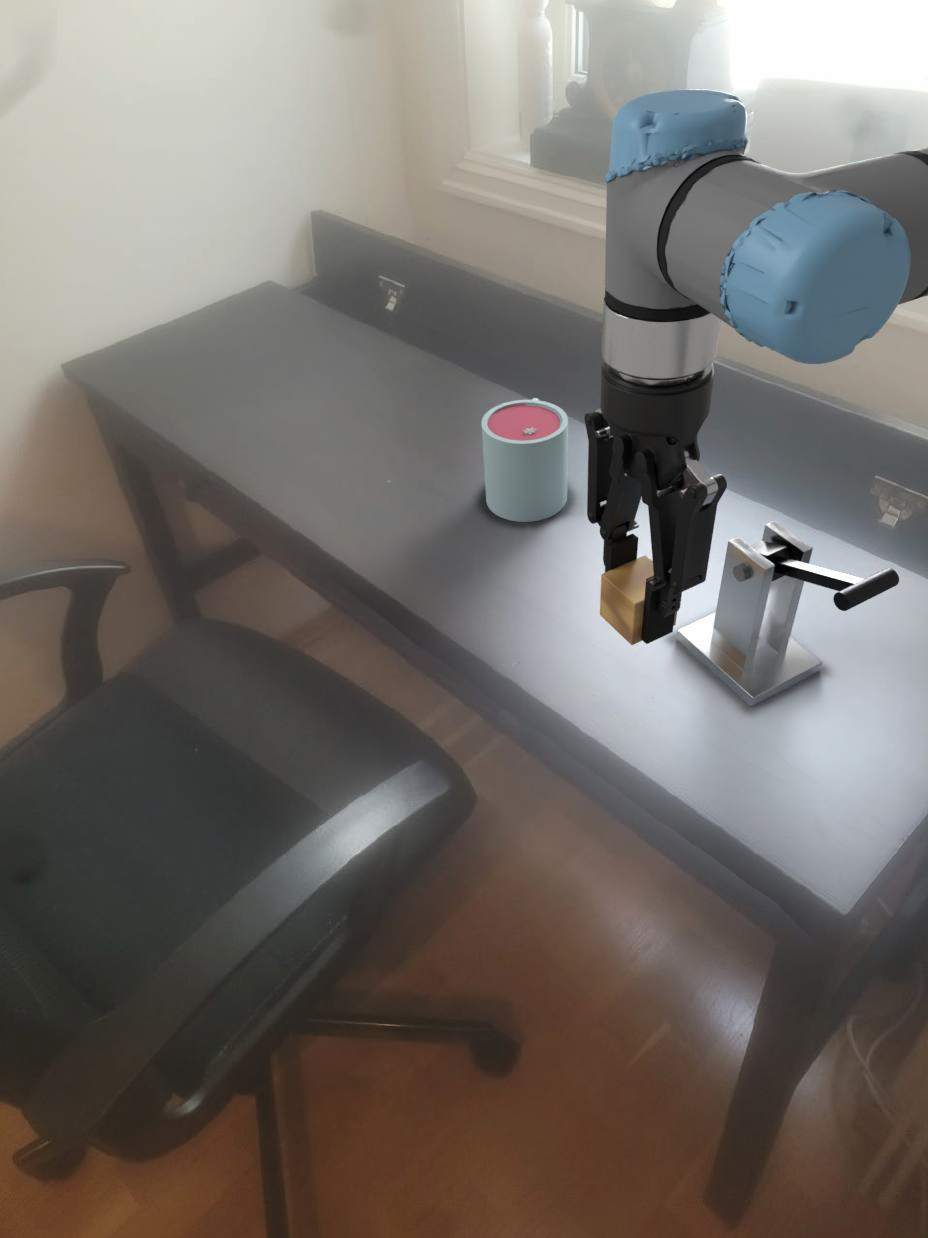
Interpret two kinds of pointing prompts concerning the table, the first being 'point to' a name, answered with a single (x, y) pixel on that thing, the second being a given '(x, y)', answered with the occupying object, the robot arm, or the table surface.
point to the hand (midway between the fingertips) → (637, 617)
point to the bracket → (754, 622)
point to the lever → (828, 577)
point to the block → (626, 597)
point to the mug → (525, 459)
